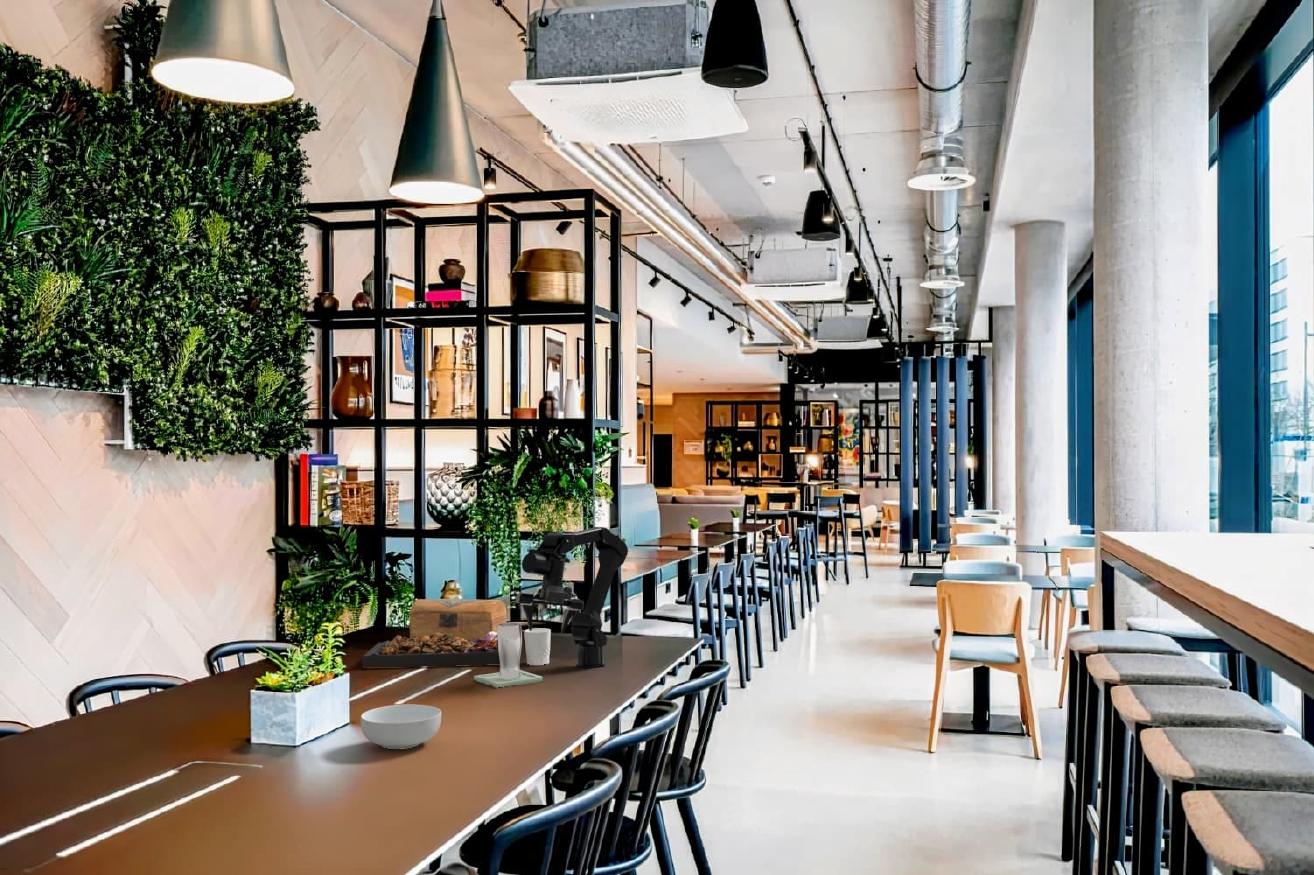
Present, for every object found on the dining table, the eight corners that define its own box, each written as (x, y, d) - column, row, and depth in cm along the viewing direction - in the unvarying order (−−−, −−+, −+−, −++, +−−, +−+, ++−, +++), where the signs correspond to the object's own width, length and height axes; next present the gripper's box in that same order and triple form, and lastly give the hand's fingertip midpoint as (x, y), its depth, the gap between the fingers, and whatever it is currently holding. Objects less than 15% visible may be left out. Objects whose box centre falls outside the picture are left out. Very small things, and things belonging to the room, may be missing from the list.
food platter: (520, 652, 346) (519, 620, 346) (514, 666, 321) (513, 632, 322) (378, 656, 343) (378, 624, 344) (362, 671, 319) (361, 636, 319)
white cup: (553, 661, 326) (552, 628, 327) (548, 666, 318) (547, 632, 319) (528, 661, 327) (527, 628, 327) (522, 666, 319) (521, 632, 320)
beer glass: (505, 675, 303) (505, 621, 303) (527, 676, 300) (526, 622, 300) (492, 679, 297) (491, 625, 297) (514, 681, 294) (513, 626, 294)
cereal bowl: (370, 760, 220) (370, 725, 220) (353, 742, 235) (353, 709, 235) (451, 749, 228) (450, 715, 228) (430, 732, 243) (429, 700, 243)
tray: (518, 673, 308) (518, 669, 308) (542, 681, 296) (542, 676, 296) (474, 680, 300) (474, 675, 300) (497, 688, 288) (497, 683, 288)
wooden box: (407, 643, 365) (406, 602, 365) (427, 635, 381) (426, 596, 382) (490, 644, 359) (490, 603, 359) (507, 636, 375) (506, 596, 376)
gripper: (526, 572, 295) (519, 630, 293) (591, 580, 301) (585, 636, 298) (518, 573, 306) (511, 628, 303) (581, 580, 311) (575, 635, 309)
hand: (546, 632), depth 303 cm, fingers open, 9 cm apart
